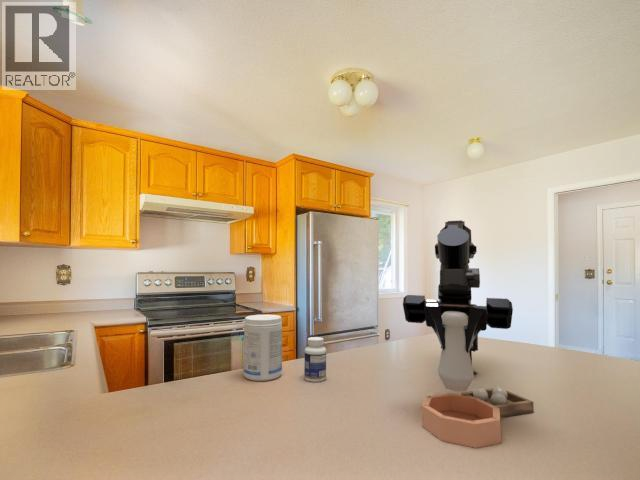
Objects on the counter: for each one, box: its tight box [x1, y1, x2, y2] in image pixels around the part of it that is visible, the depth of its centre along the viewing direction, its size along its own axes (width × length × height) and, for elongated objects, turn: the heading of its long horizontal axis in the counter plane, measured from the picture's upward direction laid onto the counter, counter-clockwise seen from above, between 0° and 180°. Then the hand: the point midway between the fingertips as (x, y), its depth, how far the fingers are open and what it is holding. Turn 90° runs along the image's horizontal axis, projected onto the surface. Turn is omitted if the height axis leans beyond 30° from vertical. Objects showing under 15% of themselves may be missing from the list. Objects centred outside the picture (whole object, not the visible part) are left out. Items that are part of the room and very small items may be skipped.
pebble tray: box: [460, 387, 535, 419], centre depth 67 cm, size 10×8×2 cm
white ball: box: [492, 386, 508, 399], centre depth 68 cm, size 3×3×3 cm
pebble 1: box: [472, 387, 488, 402], centre depth 68 cm, size 3×3×3 cm
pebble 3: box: [491, 393, 507, 406], centre depth 65 cm, size 3×3×3 cm
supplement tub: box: [243, 314, 283, 382], centre depth 85 cm, size 10×10×15 cm
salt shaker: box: [438, 311, 475, 392], centre depth 59 cm, size 6×6×13 cm
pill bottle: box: [303, 336, 327, 383], centre depth 83 cm, size 5×5×10 cm
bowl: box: [421, 392, 502, 449], centre depth 58 cm, size 12×12×4 cm
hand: (455, 350), depth 58 cm, fingers closed on salt shaker, 3 cm apart
